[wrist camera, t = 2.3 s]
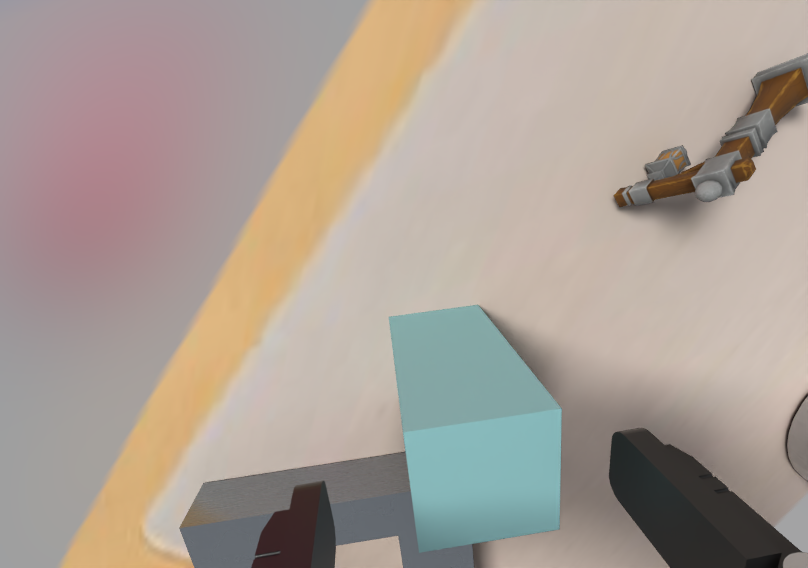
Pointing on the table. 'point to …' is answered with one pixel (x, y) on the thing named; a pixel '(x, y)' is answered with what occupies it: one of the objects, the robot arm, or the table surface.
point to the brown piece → (727, 143)
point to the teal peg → (474, 431)
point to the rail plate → (350, 504)
